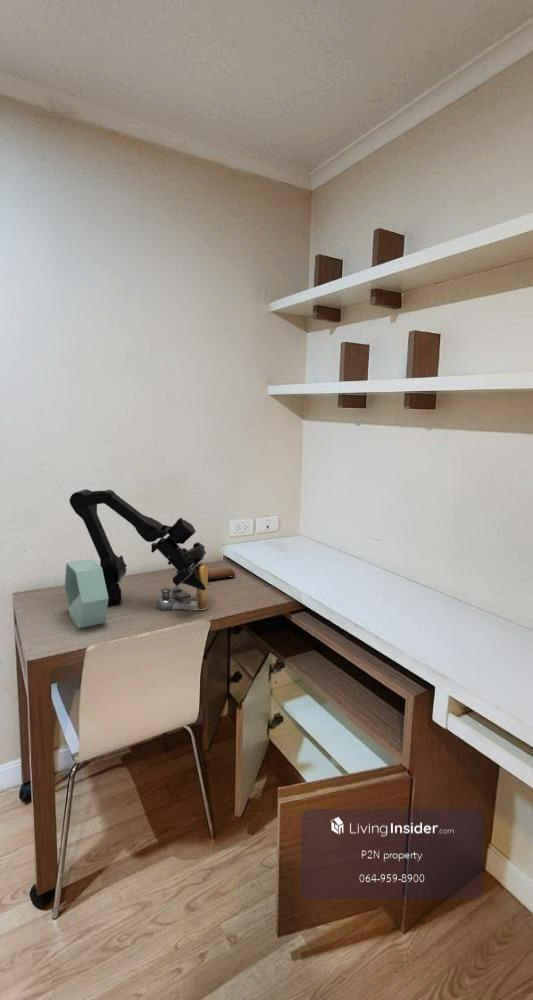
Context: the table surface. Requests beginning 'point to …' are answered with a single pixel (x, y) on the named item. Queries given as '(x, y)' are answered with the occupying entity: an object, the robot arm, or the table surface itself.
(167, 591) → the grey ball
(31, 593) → the table surface
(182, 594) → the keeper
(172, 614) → the table surface
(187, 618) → the table surface
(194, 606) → the link
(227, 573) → the sunglasses case
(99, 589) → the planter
